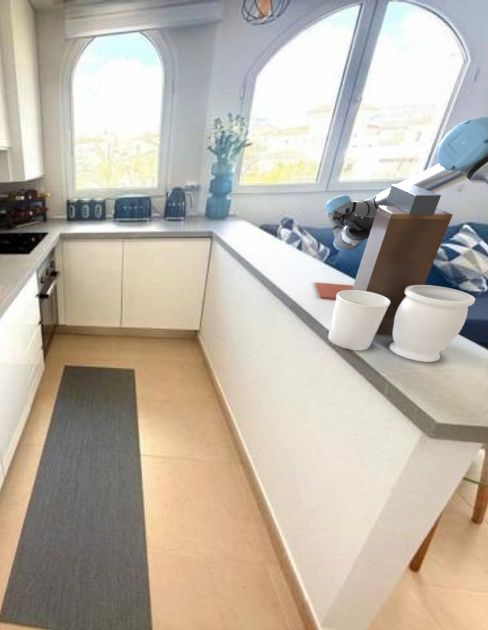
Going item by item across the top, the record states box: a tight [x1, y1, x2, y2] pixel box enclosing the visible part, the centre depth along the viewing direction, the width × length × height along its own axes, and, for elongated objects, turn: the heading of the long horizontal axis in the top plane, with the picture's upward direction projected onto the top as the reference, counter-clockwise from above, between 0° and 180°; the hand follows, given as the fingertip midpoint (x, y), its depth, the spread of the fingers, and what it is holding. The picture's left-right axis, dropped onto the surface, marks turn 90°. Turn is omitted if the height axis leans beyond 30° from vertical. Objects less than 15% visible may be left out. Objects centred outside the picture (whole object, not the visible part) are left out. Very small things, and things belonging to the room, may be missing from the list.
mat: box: [315, 282, 353, 300], centre depth 111 cm, size 10×13×1 cm
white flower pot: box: [327, 290, 390, 351], centre depth 83 cm, size 10×10×12 cm
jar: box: [389, 284, 476, 363], centre depth 76 cm, size 11×10×15 cm
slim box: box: [387, 184, 442, 215], centre depth 81 cm, size 4×20×4 cm, turn 151°
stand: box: [352, 206, 453, 337], centre depth 85 cm, size 10×11×30 cm
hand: (385, 206), depth 95 cm, fingers open, 13 cm apart
